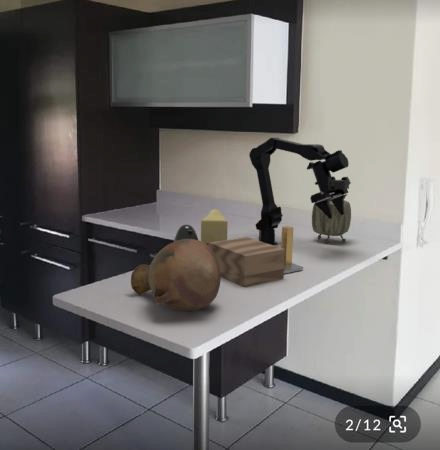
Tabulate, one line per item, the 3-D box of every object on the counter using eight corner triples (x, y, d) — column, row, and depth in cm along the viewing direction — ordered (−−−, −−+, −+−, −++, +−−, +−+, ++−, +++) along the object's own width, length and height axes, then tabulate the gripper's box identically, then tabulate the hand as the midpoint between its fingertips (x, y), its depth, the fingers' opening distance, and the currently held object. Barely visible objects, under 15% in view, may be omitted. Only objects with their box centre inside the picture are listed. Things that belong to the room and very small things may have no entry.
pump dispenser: (178, 273, 187) (178, 228, 184) (166, 265, 196) (166, 222, 193) (206, 269, 192) (206, 226, 189) (193, 262, 201) (193, 220, 198)
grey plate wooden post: (242, 282, 178) (244, 239, 175) (219, 272, 188) (220, 231, 185) (303, 269, 192) (305, 229, 189) (278, 260, 203) (279, 223, 200)
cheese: (203, 244, 227) (203, 207, 224) (227, 244, 227) (227, 208, 224) (200, 258, 205) (200, 218, 202) (227, 259, 205) (227, 219, 202)
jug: (234, 313, 152) (167, 302, 174) (237, 241, 153) (171, 239, 175) (175, 315, 138) (110, 304, 160) (179, 236, 139) (115, 235, 161)
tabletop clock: (349, 242, 234) (353, 183, 229) (342, 246, 226) (346, 185, 221) (316, 238, 241) (319, 180, 236) (308, 242, 233) (311, 182, 228)
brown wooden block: (208, 271, 190) (209, 242, 188) (246, 264, 199) (246, 236, 197) (244, 287, 174) (245, 255, 172) (283, 278, 183) (284, 249, 181)
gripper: (329, 171, 196) (343, 213, 195) (353, 167, 210) (366, 206, 209) (303, 181, 203) (317, 222, 202) (328, 177, 217) (341, 215, 216)
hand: (336, 216), depth 207 cm, fingers open, 9 cm apart
